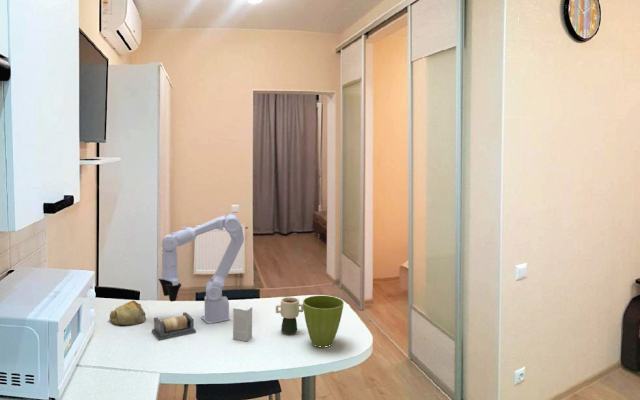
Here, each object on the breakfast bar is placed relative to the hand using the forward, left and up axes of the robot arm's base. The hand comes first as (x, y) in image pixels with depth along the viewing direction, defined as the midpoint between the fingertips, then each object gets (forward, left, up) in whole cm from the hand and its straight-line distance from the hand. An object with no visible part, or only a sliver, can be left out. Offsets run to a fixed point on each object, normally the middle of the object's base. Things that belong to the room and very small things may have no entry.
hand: (169, 298), depth 192 cm
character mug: (-36, +33, -10) cm, 50 cm away
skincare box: (-18, +29, -10) cm, 36 cm away
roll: (+2, +11, -9) cm, 14 cm away
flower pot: (-41, +48, -10) cm, 64 cm away
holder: (+2, +11, -10) cm, 15 cm away
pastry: (+14, -10, -10) cm, 20 cm away
